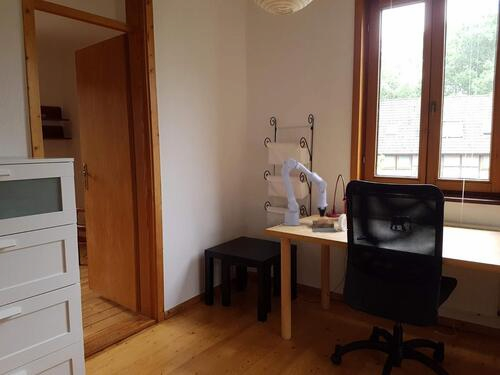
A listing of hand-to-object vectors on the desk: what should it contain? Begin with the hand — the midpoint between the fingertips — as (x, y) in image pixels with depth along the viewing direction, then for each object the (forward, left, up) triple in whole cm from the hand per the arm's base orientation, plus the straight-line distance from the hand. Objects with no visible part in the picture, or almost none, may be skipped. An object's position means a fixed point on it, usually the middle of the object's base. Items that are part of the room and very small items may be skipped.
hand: (322, 218), depth 259 cm
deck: (0, -10, -4) cm, 11 cm away
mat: (0, -21, -4) cm, 22 cm away
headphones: (+15, -17, -4) cm, 23 cm away
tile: (0, -9, -1) cm, 9 cm away
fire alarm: (+25, +9, -4) cm, 27 cm away
